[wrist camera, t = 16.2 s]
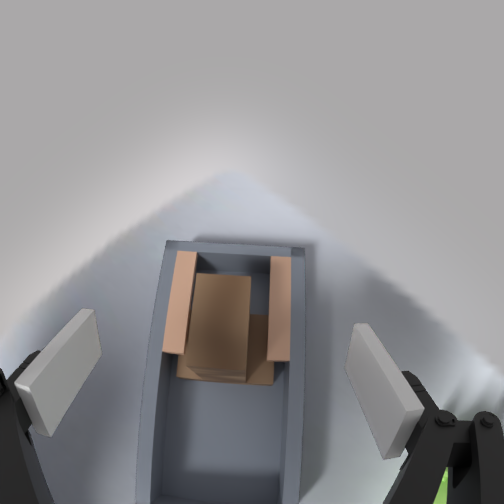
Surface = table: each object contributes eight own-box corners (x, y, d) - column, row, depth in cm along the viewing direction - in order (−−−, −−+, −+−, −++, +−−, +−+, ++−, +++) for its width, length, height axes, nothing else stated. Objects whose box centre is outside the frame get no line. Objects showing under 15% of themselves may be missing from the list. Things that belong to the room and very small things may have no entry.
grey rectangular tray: (149, 499, 21) (135, 511, 18) (175, 261, 33) (166, 240, 29) (289, 512, 21) (296, 527, 18) (297, 268, 33) (304, 247, 29)
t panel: (180, 378, 27) (149, 360, 18) (187, 315, 30) (163, 270, 21) (271, 385, 27) (284, 372, 18) (274, 321, 29) (286, 278, 21)
